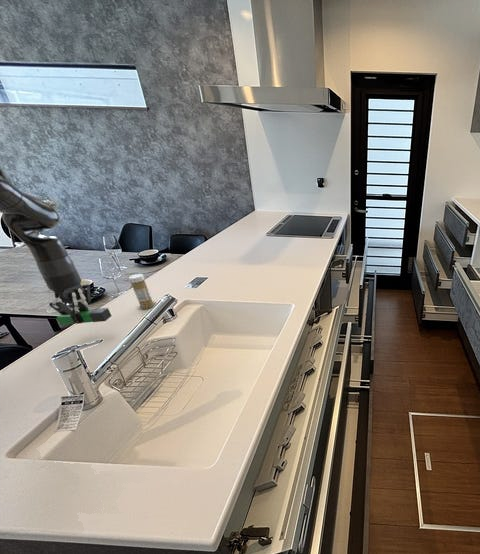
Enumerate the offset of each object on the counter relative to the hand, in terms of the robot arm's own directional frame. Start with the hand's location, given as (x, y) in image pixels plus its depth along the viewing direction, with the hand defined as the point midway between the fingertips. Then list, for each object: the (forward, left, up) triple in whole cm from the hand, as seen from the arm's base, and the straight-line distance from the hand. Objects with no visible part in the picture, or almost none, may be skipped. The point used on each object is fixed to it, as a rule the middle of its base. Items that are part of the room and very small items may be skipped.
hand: (83, 319), depth 98 cm
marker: (+1, 0, 0) cm, 1 cm away
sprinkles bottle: (+7, +21, -8) cm, 24 cm away
